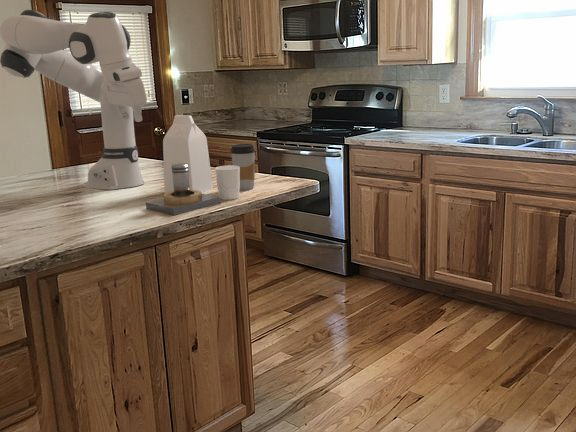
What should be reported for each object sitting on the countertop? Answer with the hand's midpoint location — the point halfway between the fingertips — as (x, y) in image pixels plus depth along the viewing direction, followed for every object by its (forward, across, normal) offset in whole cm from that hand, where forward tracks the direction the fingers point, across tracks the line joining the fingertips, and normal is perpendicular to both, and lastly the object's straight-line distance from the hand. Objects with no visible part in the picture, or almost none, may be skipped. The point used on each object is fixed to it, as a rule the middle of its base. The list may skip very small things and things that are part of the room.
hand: (132, 120), depth 177 cm
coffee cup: (+36, -7, +36) cm, 51 cm away
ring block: (+30, 0, +8) cm, 31 cm away
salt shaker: (+28, 0, +9) cm, 29 cm away
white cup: (+33, +1, +24) cm, 41 cm away
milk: (+33, -18, +20) cm, 42 cm away
